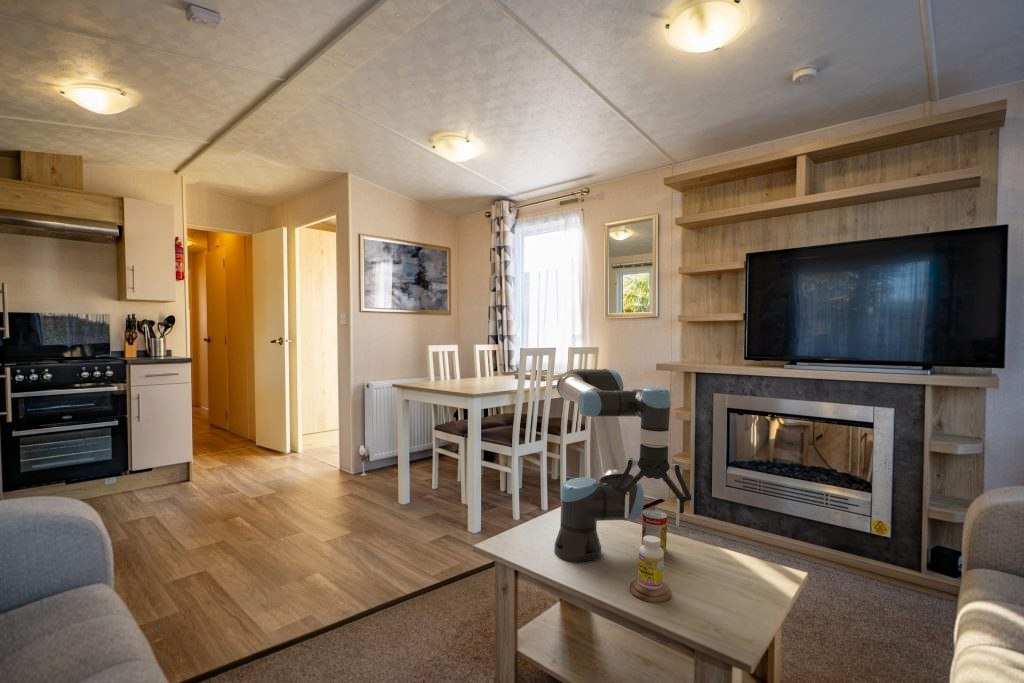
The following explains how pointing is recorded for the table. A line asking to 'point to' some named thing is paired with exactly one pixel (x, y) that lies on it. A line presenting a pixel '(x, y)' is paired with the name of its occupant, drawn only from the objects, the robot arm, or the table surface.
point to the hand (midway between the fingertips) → (651, 520)
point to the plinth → (650, 592)
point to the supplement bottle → (651, 563)
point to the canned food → (655, 526)
